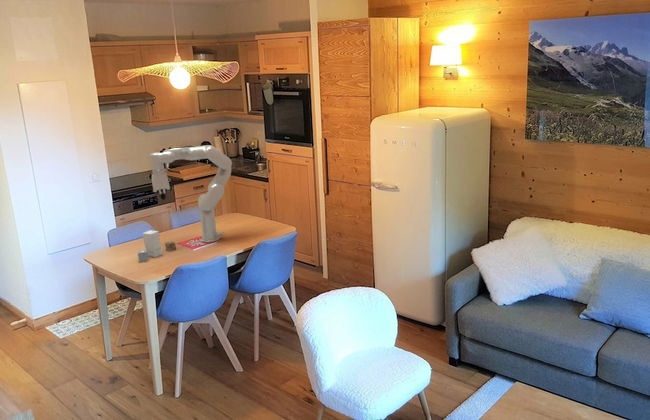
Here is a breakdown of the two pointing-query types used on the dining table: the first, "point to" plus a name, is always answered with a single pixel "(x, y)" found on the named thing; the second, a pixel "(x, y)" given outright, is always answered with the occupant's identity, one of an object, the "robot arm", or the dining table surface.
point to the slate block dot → (143, 256)
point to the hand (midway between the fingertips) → (163, 199)
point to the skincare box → (152, 243)
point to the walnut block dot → (170, 246)
